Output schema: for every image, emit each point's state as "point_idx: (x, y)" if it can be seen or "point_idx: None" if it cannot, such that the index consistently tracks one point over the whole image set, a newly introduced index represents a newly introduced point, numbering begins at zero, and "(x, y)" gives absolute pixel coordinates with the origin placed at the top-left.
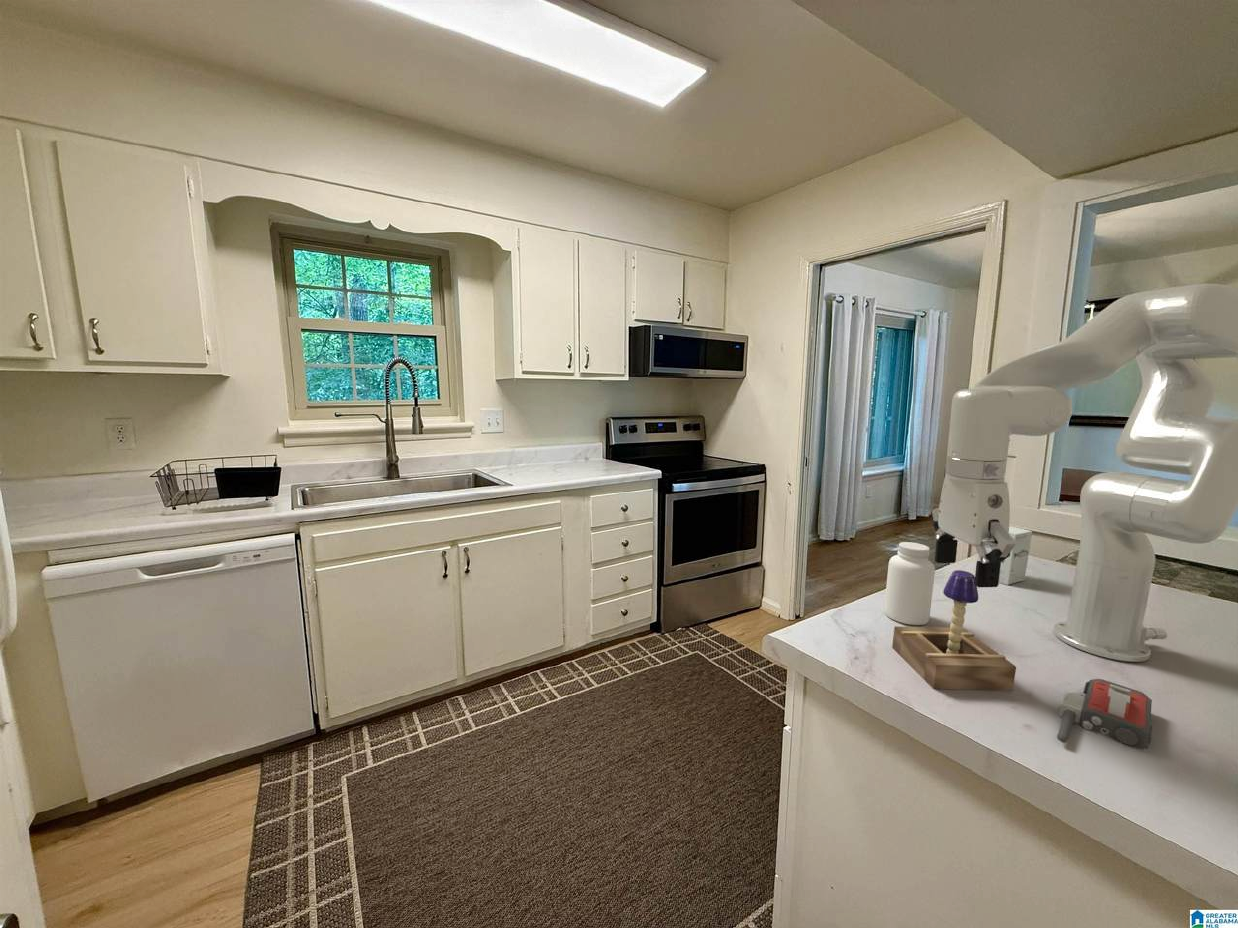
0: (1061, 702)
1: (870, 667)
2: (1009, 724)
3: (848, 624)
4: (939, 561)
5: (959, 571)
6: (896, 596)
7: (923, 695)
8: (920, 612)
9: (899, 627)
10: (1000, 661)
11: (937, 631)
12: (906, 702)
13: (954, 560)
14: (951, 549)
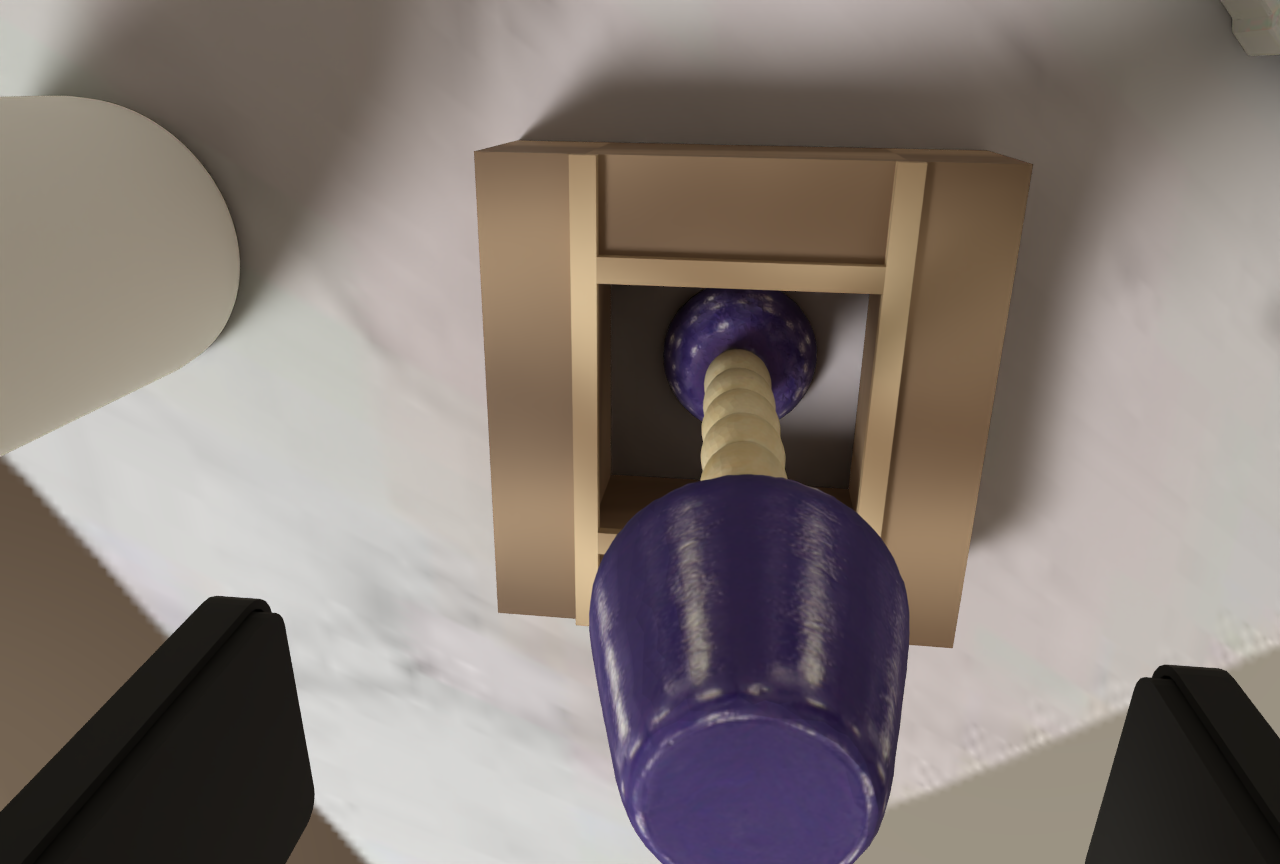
0: (1276, 33)
1: None
2: (1250, 403)
3: (297, 632)
4: (307, 810)
5: (686, 819)
6: (82, 416)
7: (971, 644)
8: (186, 252)
9: (511, 593)
10: (956, 229)
11: (546, 385)
12: (1013, 741)
13: (269, 644)
14: (172, 841)
